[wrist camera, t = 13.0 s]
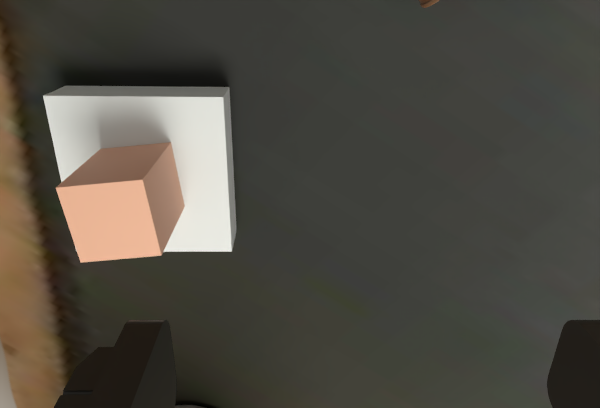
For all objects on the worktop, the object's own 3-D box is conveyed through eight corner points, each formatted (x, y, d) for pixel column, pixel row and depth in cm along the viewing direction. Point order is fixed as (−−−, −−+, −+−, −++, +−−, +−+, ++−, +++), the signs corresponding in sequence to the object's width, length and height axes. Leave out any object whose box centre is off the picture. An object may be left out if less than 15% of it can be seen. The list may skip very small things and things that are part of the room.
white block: (68, 84, 35) (43, 95, 32) (229, 85, 36) (223, 97, 32) (95, 227, 40) (76, 251, 37) (237, 227, 41) (231, 251, 37)
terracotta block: (100, 148, 33) (55, 187, 27) (171, 142, 33) (142, 179, 27) (118, 212, 35) (80, 262, 29) (184, 206, 35) (161, 255, 29)
